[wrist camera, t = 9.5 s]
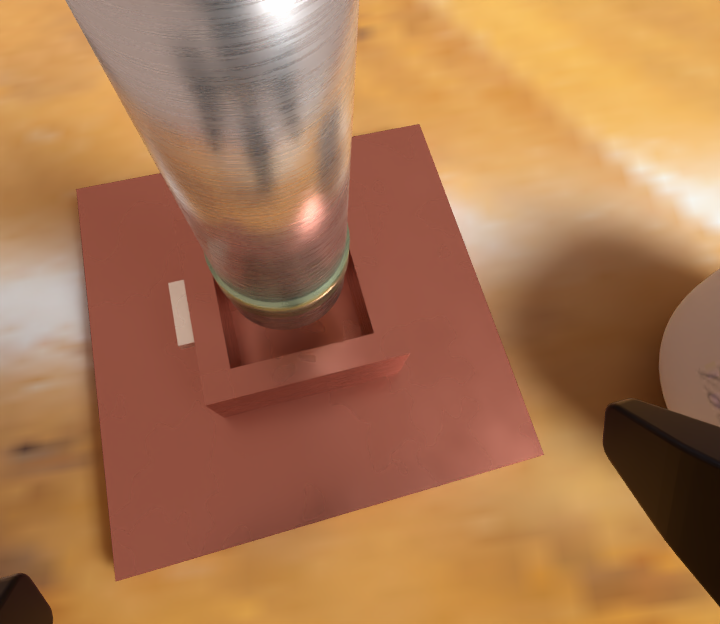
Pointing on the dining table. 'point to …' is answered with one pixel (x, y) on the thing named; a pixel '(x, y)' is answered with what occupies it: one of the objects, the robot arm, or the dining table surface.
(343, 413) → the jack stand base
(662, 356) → the teacup
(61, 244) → the dining table surface
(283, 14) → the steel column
